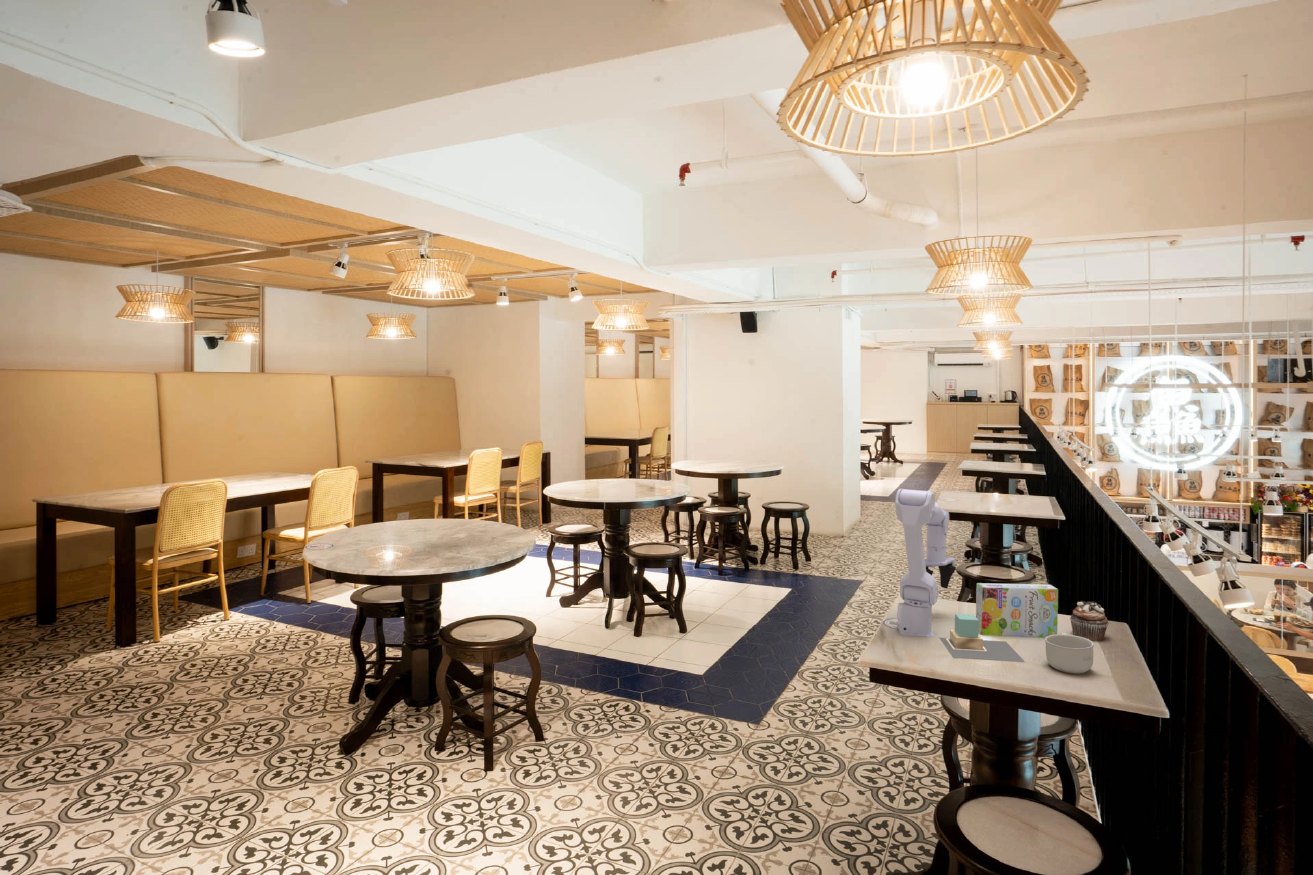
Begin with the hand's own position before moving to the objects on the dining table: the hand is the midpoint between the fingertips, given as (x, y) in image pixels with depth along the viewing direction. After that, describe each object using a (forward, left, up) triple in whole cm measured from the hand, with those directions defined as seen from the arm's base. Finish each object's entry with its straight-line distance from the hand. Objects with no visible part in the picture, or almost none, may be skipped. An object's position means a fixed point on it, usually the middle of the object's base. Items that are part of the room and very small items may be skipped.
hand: (935, 588), depth 224 cm
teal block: (+3, -26, -6) cm, 27 cm away
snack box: (+20, -13, -10) cm, 26 cm away
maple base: (+3, -26, -9) cm, 28 cm away
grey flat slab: (+6, -29, -9) cm, 31 cm away
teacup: (+25, -38, -10) cm, 47 cm away
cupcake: (+41, -10, -10) cm, 43 cm away
